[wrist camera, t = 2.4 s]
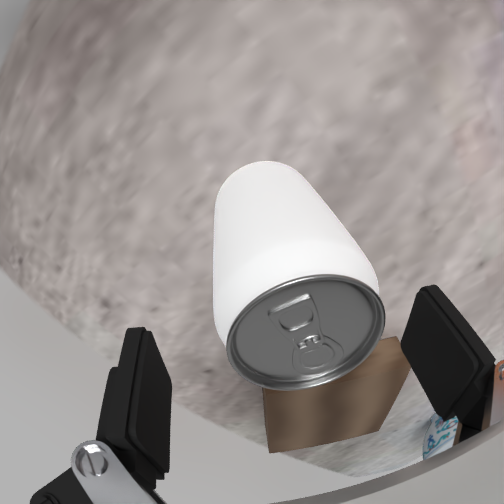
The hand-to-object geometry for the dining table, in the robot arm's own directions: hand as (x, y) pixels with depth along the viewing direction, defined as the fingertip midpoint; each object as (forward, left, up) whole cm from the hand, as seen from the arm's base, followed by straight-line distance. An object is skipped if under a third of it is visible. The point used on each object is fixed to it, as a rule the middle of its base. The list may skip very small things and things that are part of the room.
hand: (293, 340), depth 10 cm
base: (-7, +22, -12) cm, 26 cm away
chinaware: (-33, +41, -12) cm, 54 cm away
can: (-1, 0, -12) cm, 12 cm away
